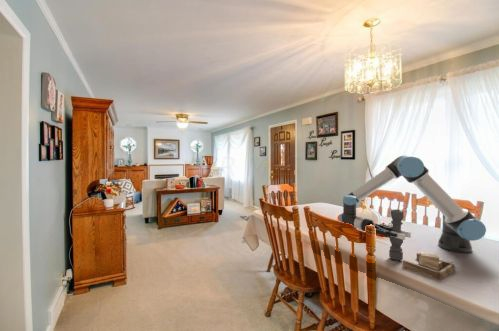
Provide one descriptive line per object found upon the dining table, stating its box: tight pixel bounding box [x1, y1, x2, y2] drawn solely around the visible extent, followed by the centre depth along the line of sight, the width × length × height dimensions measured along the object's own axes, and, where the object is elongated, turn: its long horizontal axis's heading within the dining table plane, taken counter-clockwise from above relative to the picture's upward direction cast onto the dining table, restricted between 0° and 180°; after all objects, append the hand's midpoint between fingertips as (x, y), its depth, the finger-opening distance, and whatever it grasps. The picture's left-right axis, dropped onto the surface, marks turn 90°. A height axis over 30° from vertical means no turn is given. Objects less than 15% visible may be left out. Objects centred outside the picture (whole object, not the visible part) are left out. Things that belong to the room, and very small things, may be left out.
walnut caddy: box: [402, 252, 456, 281], centre depth 116 cm, size 16×16×3 cm
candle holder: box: [388, 209, 404, 261], centre depth 125 cm, size 6×6×25 cm
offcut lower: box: [418, 258, 443, 271], centre depth 119 cm, size 5×8×3 cm, turn 33°
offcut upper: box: [419, 251, 440, 264], centre depth 118 cm, size 4×7×3 cm, turn 63°
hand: (407, 236), depth 120 cm, fingers closed on candle holder, 5 cm apart
